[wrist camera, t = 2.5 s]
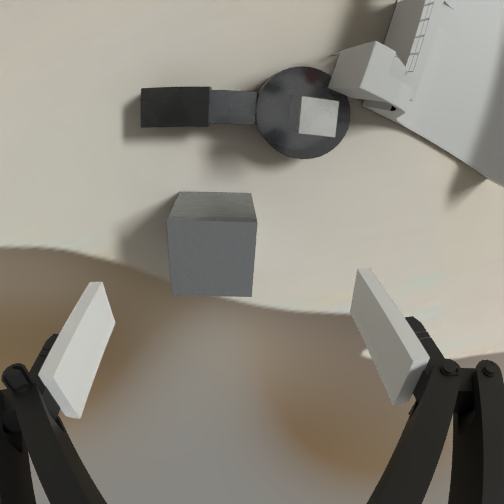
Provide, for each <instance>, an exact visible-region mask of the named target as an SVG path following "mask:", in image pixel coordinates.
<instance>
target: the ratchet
mask: <svg viewBox="0 0 504 504" xmlns="http://www.w3.org/2000/svg"><path fill="white" fill-rule="evenodd" d="M330 80H331V76H330V75H328V74H327V73H325V72H323V71H321V70H318V69H315V68H311V67H294V68H289V69H286V70H284V71H281V72H279V73H277V74H275V75H273V76H272V77H270V78H269V79H268V80H267V81H266V82H265V83H264V84H263V85H262V86H261V88H260V90H259V91H258V94H257V92H250V91H229V90H211V89H212V87H161V88H142V89H141V128H142V127H184V126H194V127H208V126H209V125H210V123H224V124H248V125H255V121H256V125H257V127H258V129H259V131H260V133H261V134H262V135H263V137H264V138H265V139H266V141H267V142H268V143H269V144H270V145H271V146H272V147H273V148H274V149H276V150H277V151H279V152H280V153H282V154H284V155H287V156H289V157H293V158H299V159H310V158H315V157H319V156H322V155H324V154H326V153H328V152H330V151H331V150H332V149H334V148H335V147H336V146H337V145H338V144H339V143H340V142H341V140H342V139H343V137H344V136H345V134H346V132H347V129H348V126H349V122H350V106H349V101H348V98H347V96H346V95H344V94H341V93H339V92H337V91H334V90H332V89H329V88H328V86H329V83H330Z"/></svg>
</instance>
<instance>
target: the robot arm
mask: <svg viewBox="0 0 504 504" xmlns="http://www.w3.org/2000/svg"><path fill="white" fill-rule="evenodd" d="M350 313H351V315H352V317H353V319H354V321H355V323H356V325H357V327H358V329H359V331H360V333H361V335H362V337H363V340H364V342H365V344H366V346H367V348H368V350H369V353H370V355H371V357H372V359H373V361H374V363H375V366H376V368H377V370H378V372H379V375H380V376H381V379H382V381H383V383H384V386H385V388H386V390H387V393H388V395H389V397H390V400H391V402H392V404H393V405H397V404H402V403H406V402H409V400H410V398H411V396H412V394H414V396H415V398H416V401H415V404H414V405H413V407H412V409H411V411H410V412H409V415H410V416H409V418H408V421H407V423H406V426H405V428H404V430H403V432H402V435H401V437H400V439H399V442H398V444H397V446H396V448H395V450H394V452H393V455H392V457H391V459H390V461H389V463H388V465H387V467H386V469H385V471H384V473H383V475H382V477H381V479H380V481H379V482H378V484H377V486H376V488H375V490H374V492H373V493H372V495H371V497H370V499H369V501H368V502H367V504H422V502H423V499H424V497H425V494H426V492H427V490H428V487H429V485H430V482H431V480H432V477H433V474H434V472H435V469H436V466H437V464H438V460H439V458H440V455H441V451H442V449H443V446H444V442H445V439H446V436H447V432H448V429H449V426H450V422H451V419H452V415H453V455H452V471H451V484H450V492H449V501H448V504H504V383H503V378H502V374H501V370H500V368H499V366H498V365H497V364H496V363H494V362H492V361H489V360H482V361H480V362H479V363H478V365H477V366H476V368H475V369H474V368H460V366H459V365H458V364H457V363H456V362H455V361H453V360H451V359H445V358H444V357H443V355H442V353H441V352H440V350H439V349H438V347H437V346H436V344H435V343H434V341H433V340H432V338H430V335H429V334H428V332H426V329H425V328H424V326H423V325H422V323H421V322H419V321H418V320H417V319H415V318H414V317H413V316H412V317H404V316H403V314H402V313H401V311H400V310H399V308H398V307H397V305H396V304H395V302H394V301H393V299H392V298H391V297H390V295H389V294H388V292H387V291H386V289H385V288H384V286H383V285H382V283H381V282H380V281H379V279H378V278H377V276H376V275H375V273H374V272H373V271H372V269H371V268H366V269H357V275H356V281H355V287H354V293H353V299H352V304H351V310H350ZM114 325H115V320H114V317H113V314H112V311H111V308H110V305H109V302H108V299H107V295H106V292H105V289H104V286H103V282H90V283H89V284H88V286H87V288H86V289H85V291H84V292H83V294H82V296H81V297H80V299H79V301H78V303H77V304H76V306H75V307H74V309H73V311H72V313H71V314H70V316H69V318H68V320H67V321H66V323H65V325H64V327H63V329H62V330H61V332H60V334H53V335H52V336H51V337H50V338H49V339H48V340H47V341H46V343H45V344H44V346H43V348H42V350H41V352H40V353H39V356H38V357H37V359H36V361H35V363H34V365H33V366H32V368H31V370H30V372H28V370H27V369H26V367H25V366H24V365H23V364H20V363H16V364H13V365H11V366H9V367H7V369H6V370H5V371H4V372H3V375H2V382H3V383H4V384H5V386H6V387H7V389H4V390H0V504H36V501H35V495H34V490H33V484H32V478H31V471H30V464H29V455H28V452H29V454H30V457H31V460H32V462H33V465H34V467H35V470H36V472H37V475H38V477H39V480H40V482H41V484H42V486H43V488H44V491H45V493H46V495H47V497H48V500H49V502H50V504H107V503H106V501H105V500H104V498H103V497H102V495H101V494H100V492H99V490H98V489H97V487H96V485H95V484H94V482H93V480H92V479H91V477H90V475H89V474H88V472H87V470H86V468H85V466H84V465H83V463H82V461H81V459H80V457H79V455H78V453H77V452H76V450H75V448H74V446H73V444H72V442H71V440H70V438H69V436H68V434H67V431H66V429H65V427H64V425H63V423H62V421H61V419H60V417H59V416H58V414H59V411H60V409H61V410H62V412H63V413H64V414H65V416H67V417H73V418H79V419H80V418H81V415H82V412H83V409H84V406H85V403H86V400H87V397H88V394H89V391H90V388H91V385H92V383H93V380H94V377H95V374H96V372H97V369H98V366H99V364H100V361H101V358H102V356H103V353H104V350H105V348H106V345H107V343H108V340H109V338H110V335H111V333H112V330H113V327H114Z"/></svg>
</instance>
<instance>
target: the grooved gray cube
mask: <svg viewBox="0 0 504 504" xmlns="http://www.w3.org/2000/svg"><path fill="white" fill-rule="evenodd" d="M256 233H257V219H256V214H255V209H254V204H253V200H252V195H251V193H223V192H180V193H179V195H178V197H177V199H176V201H175V203H174V205H173V208H172V210H171V212H170V214H169V216H168V219H167V235H168V252H169V266H170V280H171V291H172V295H197V296H236V297H252V284H253V272H254V259H255V246H256Z"/></svg>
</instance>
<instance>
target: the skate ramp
mask: <svg viewBox="0 0 504 504" xmlns="http://www.w3.org/2000/svg"><path fill="white" fill-rule="evenodd" d="M338 54H340V55H339V58H338V60H337V63H336V66H335V69H334V72H333V74H332V77H331V80H330V83H329V86H328V88H329V89H332V90H334V91H337V92H339V93H341V94H344V95H346V96H348V97H350V98H356V99H364V102H363V104H362V106H363V107H365V108H368V109H370V110H372V111H374V112H376V113H378V114H380V115H382V116H384V117H386V118H388V119H390V120H392V121H394V122H396V123H398V124H400V125H401V126H403V127H405V128H407V129H409V130H411V131H413V132H414V133H416V134H418V135H420V136H421V137H423V138H425V139H427V140H428V141H430V142H432V143H433V144H435V145H437V146H438V147H440V148H442V149H443V150H445V151H447V152H448V153H450V154H451V155H453V156H455V157H456V158H458V159H459V160H461V161H462V162H464V163H465V164H467V165H468V166H470V167H471V168H473V169H474V170H476V171H477V172H479V173H480V174H481V175H483V176H484V177H486V178H487V179H489V180H491V181H493V182H495V183H497V184H498V185H500V186H502V187H504V0H398V1H397V4H396V7H395V11H394V14H393V17H392V20H391V23H390V26H389V29H388V32H387V35H386V38H385V41H384V44H381V43H380V42H378V41H372V42H368V43H364V44H361V45H357V46H354V47H351V48H347V49H344V50H341V52H338V53H335V54H332V56H335V55H338ZM368 63H369V64H368ZM392 106H394V107H395V108H396V110H395V111H390V110H391V107H392Z"/></svg>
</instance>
